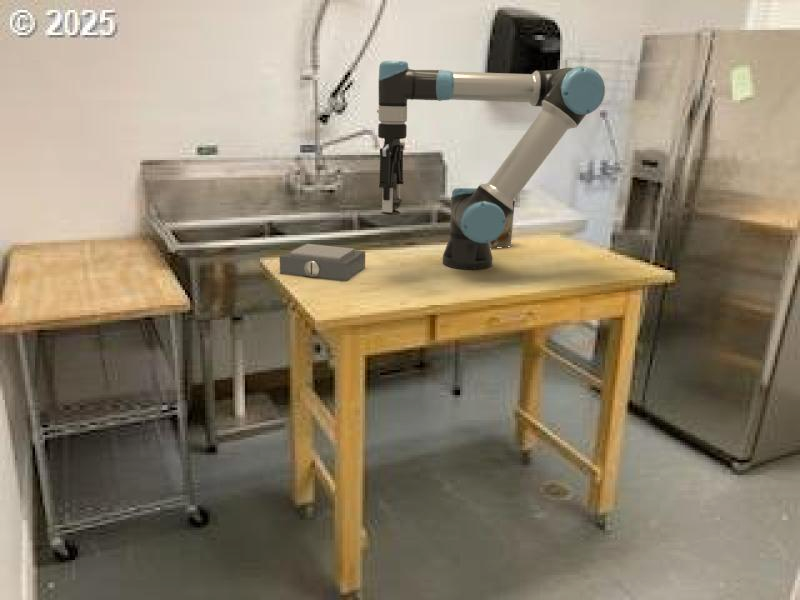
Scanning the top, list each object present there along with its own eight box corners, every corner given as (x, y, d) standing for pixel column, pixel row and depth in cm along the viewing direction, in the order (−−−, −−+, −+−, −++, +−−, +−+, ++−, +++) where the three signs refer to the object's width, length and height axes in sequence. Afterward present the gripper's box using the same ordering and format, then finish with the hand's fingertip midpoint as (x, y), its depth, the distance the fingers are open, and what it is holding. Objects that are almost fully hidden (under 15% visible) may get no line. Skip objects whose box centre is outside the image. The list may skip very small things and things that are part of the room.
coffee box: (488, 249, 223) (492, 201, 218) (478, 245, 228) (481, 198, 223) (511, 247, 227) (515, 200, 222) (500, 243, 232) (504, 197, 227)
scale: (365, 267, 197) (365, 248, 195) (345, 281, 183) (345, 260, 181) (303, 260, 202) (302, 241, 201) (278, 274, 188) (278, 253, 186)
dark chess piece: (402, 211, 187) (403, 168, 183) (400, 215, 181) (401, 170, 178) (381, 210, 187) (382, 167, 184) (378, 214, 182) (379, 169, 178)
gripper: (390, 120, 186) (388, 203, 194) (366, 124, 169) (366, 214, 177) (416, 121, 184) (413, 205, 192) (395, 125, 167) (393, 217, 174)
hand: (391, 209), depth 184 cm, fingers closed on dark chess piece, 6 cm apart
